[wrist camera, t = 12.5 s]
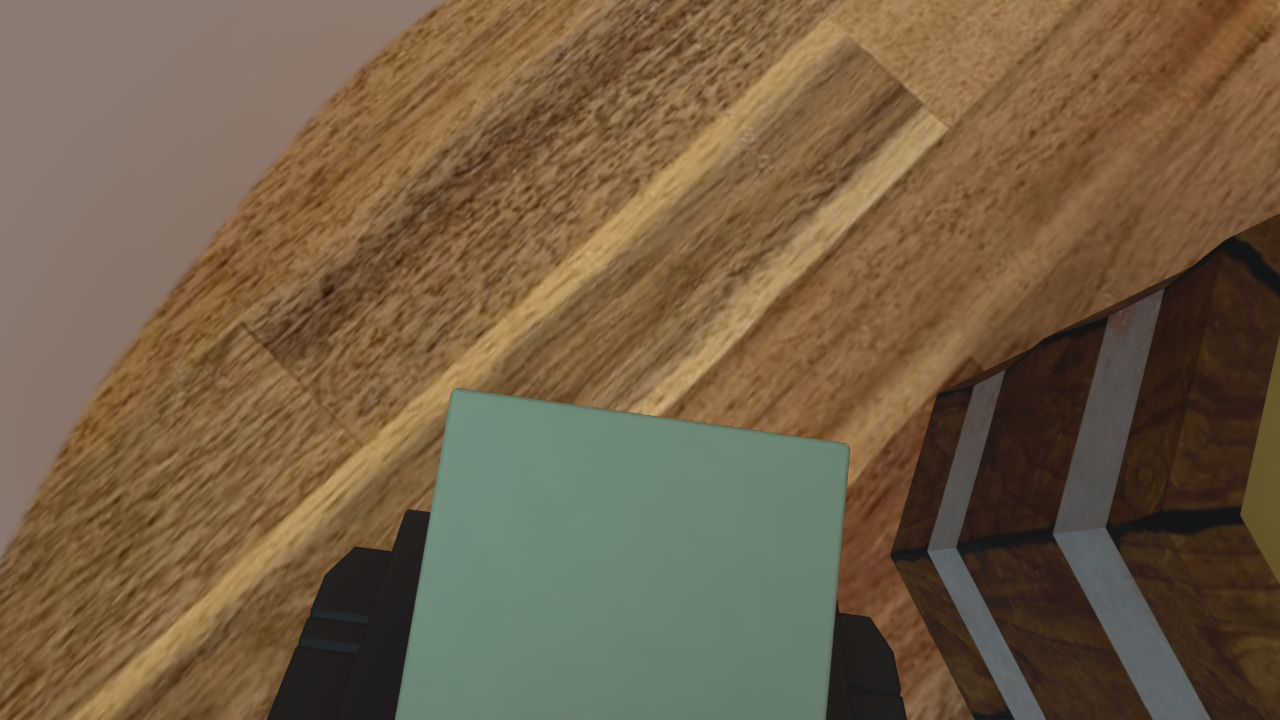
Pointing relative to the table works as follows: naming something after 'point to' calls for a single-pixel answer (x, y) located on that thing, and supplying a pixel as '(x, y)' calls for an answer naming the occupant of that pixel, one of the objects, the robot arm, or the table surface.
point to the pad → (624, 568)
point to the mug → (1114, 508)
